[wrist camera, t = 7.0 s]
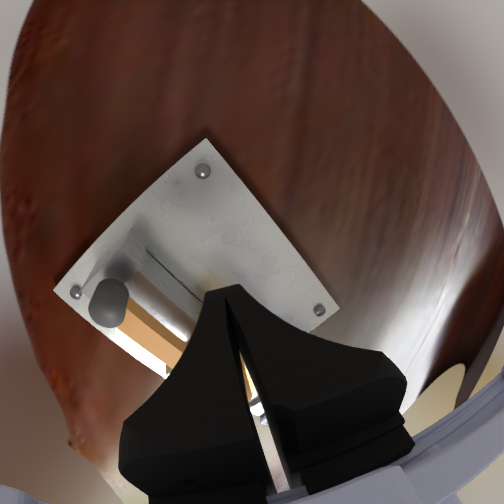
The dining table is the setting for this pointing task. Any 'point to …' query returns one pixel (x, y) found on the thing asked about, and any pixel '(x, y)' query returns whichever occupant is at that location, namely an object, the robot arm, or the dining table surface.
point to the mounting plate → (208, 247)
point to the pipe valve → (153, 292)
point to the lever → (137, 323)
